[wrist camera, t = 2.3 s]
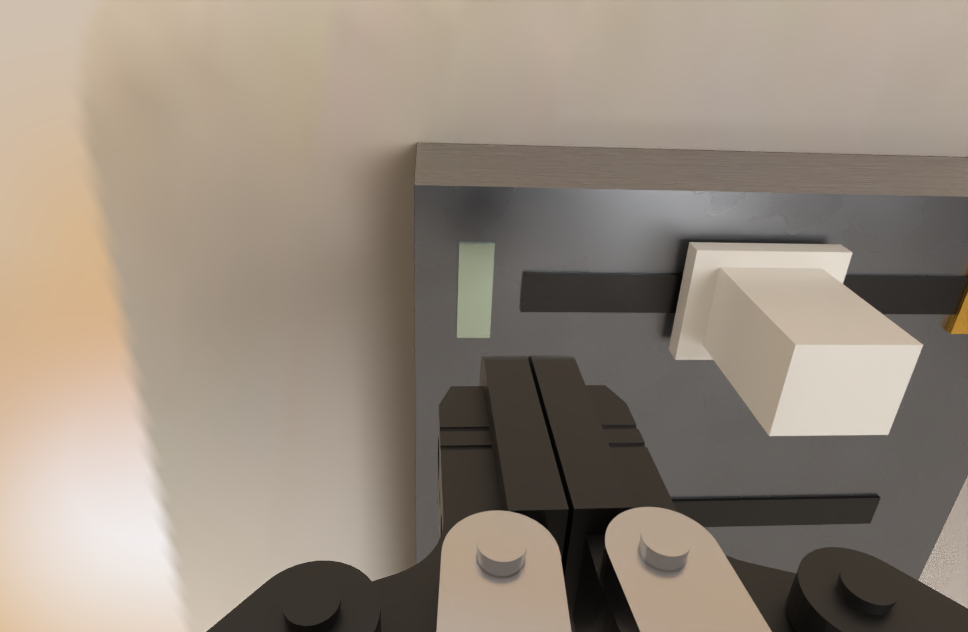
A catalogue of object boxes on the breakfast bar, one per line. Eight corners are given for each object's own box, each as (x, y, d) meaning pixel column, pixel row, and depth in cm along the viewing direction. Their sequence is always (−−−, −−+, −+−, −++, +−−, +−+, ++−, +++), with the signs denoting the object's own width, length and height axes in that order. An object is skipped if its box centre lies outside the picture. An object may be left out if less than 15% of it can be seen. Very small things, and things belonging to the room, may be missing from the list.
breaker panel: (974, 157, 19) (1105, 202, 16) (804, 612, 28) (862, 710, 24) (417, 142, 18) (413, 187, 14) (418, 625, 27) (416, 731, 23)
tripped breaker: (840, 244, 16) (962, 325, 12) (808, 349, 17) (911, 451, 13) (689, 242, 15) (768, 324, 12) (668, 349, 16) (734, 453, 13)
